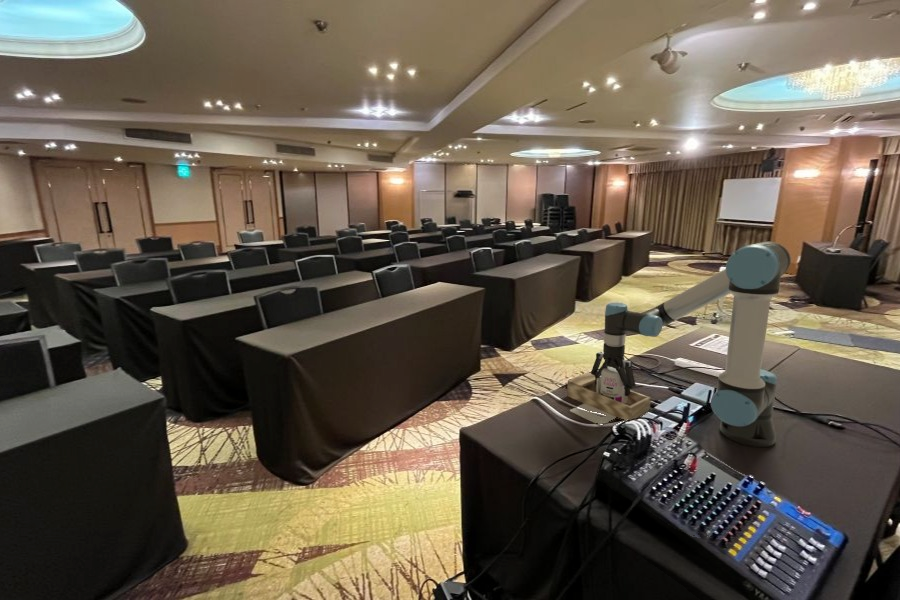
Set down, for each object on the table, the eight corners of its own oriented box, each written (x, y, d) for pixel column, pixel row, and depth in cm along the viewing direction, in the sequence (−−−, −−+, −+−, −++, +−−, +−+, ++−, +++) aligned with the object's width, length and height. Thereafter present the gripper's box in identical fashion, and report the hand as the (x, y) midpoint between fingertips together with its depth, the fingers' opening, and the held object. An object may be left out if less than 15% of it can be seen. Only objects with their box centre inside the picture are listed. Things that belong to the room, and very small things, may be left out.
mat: (616, 418, 151) (616, 417, 151) (601, 426, 146) (601, 424, 146) (584, 404, 162) (584, 403, 162) (569, 411, 157) (569, 410, 157)
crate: (649, 412, 154) (650, 394, 153) (629, 423, 147) (630, 405, 146) (587, 387, 177) (587, 372, 175) (567, 396, 170) (567, 380, 168)
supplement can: (618, 400, 164) (620, 365, 161) (625, 410, 156) (627, 374, 153) (597, 400, 165) (599, 365, 162) (602, 410, 157) (604, 374, 154)
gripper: (649, 349, 148) (644, 405, 153) (594, 334, 166) (592, 385, 171) (637, 353, 144) (633, 411, 148) (582, 338, 162) (580, 390, 167)
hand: (611, 397), depth 160 cm, fingers open, 10 cm apart
